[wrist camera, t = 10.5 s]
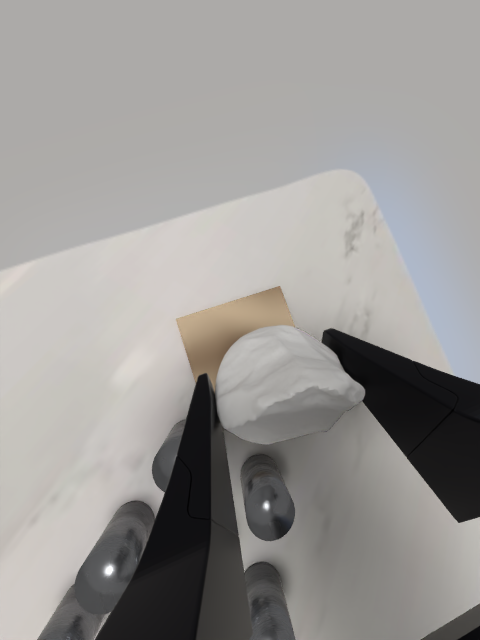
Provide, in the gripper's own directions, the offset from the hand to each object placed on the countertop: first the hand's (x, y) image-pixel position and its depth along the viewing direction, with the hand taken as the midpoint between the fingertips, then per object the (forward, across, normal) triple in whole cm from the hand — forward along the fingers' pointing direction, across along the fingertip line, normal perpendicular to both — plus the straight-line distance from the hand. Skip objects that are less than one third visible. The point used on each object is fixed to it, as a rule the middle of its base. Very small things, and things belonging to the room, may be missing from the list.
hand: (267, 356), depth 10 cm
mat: (+6, 0, +6) cm, 9 cm away
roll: (+4, 0, +6) cm, 7 cm away
